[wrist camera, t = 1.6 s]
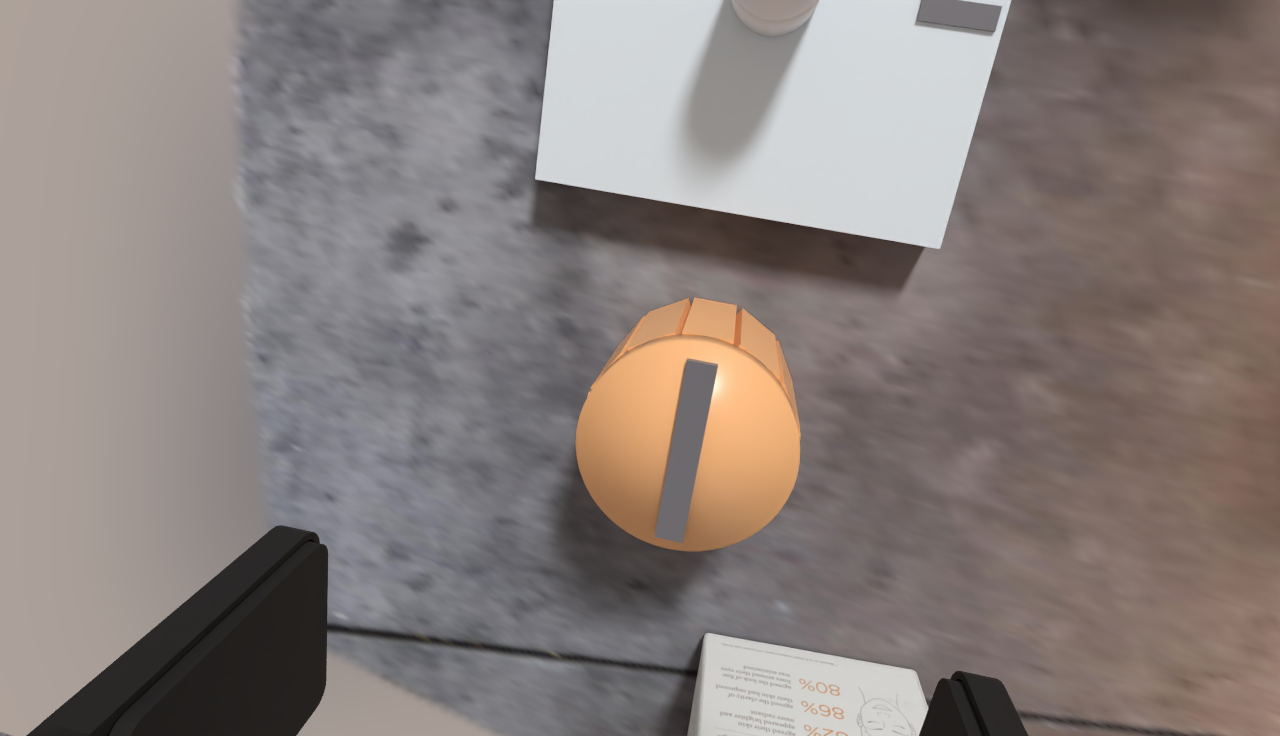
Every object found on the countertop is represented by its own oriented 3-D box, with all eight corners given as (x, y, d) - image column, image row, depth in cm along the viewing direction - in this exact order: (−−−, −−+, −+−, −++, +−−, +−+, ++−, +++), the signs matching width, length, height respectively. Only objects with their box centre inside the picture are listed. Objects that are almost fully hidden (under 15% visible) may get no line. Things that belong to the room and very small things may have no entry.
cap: (768, 483, 25) (773, 575, 20) (600, 448, 26) (561, 529, 20) (807, 318, 23) (824, 371, 18) (626, 284, 24) (589, 326, 18)
